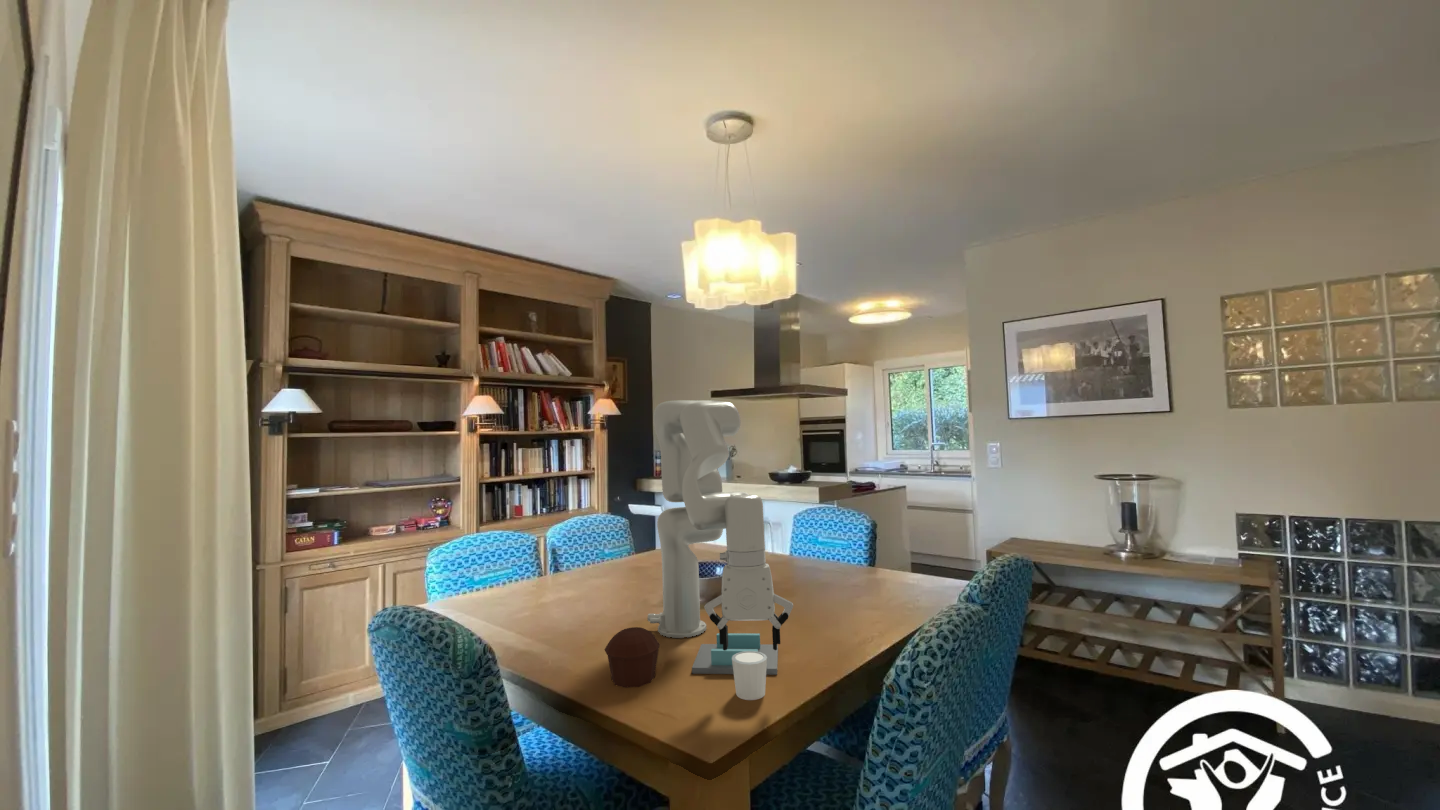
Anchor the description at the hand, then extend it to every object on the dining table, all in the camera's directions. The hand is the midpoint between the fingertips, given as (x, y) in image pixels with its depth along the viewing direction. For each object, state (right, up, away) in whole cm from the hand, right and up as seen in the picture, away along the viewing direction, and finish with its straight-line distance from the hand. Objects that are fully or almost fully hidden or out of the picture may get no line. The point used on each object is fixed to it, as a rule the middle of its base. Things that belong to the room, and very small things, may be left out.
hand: (750, 647), depth 112 cm
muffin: (-24, -10, +9) cm, 28 cm away
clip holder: (-2, -10, +16) cm, 19 cm away
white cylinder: (0, -9, 0) cm, 9 cm away
